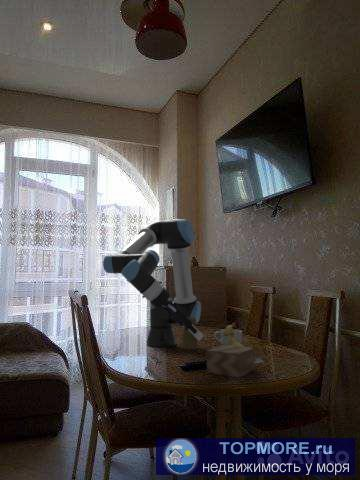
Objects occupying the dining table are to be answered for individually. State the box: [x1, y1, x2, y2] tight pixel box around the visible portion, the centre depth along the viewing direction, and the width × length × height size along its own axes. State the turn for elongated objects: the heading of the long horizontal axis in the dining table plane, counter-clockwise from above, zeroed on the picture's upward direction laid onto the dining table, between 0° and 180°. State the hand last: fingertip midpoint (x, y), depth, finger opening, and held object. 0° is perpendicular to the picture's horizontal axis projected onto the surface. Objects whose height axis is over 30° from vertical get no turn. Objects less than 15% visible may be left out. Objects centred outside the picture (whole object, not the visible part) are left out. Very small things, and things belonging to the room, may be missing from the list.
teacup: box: [213, 328, 243, 345], centre depth 182 cm, size 14×11×8 cm
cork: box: [181, 317, 199, 350], centre depth 138 cm, size 6×6×11 cm
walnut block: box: [206, 344, 255, 378], centre depth 136 cm, size 13×13×8 cm
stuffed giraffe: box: [224, 322, 264, 364], centre depth 155 cm, size 16×18×16 cm
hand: (198, 336), depth 139 cm, fingers closed on cork, 5 cm apart
